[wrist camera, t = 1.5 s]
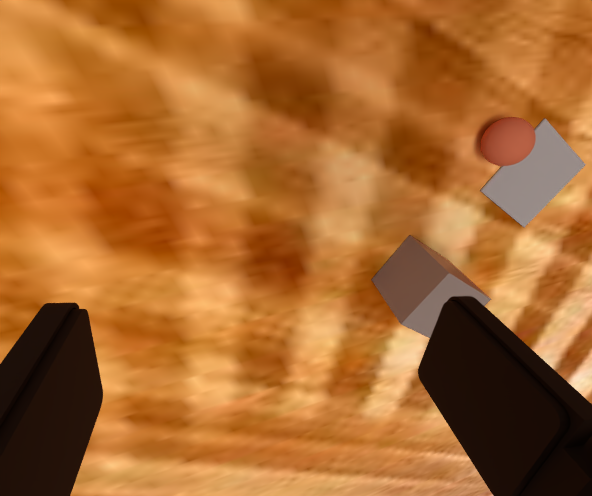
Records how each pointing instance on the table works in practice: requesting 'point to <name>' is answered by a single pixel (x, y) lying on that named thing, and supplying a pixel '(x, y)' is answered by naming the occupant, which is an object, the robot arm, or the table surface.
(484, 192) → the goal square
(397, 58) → the table surface
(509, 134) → the ball
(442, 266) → the grey block
